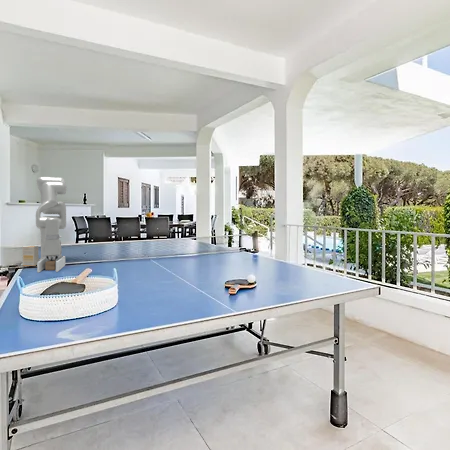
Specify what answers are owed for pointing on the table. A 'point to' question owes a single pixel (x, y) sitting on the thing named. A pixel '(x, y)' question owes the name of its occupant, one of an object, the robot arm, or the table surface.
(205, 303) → the table surface
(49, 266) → the walnut block
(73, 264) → the table surface
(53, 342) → the table surface
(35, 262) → the supplement box
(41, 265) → the frosted channel
